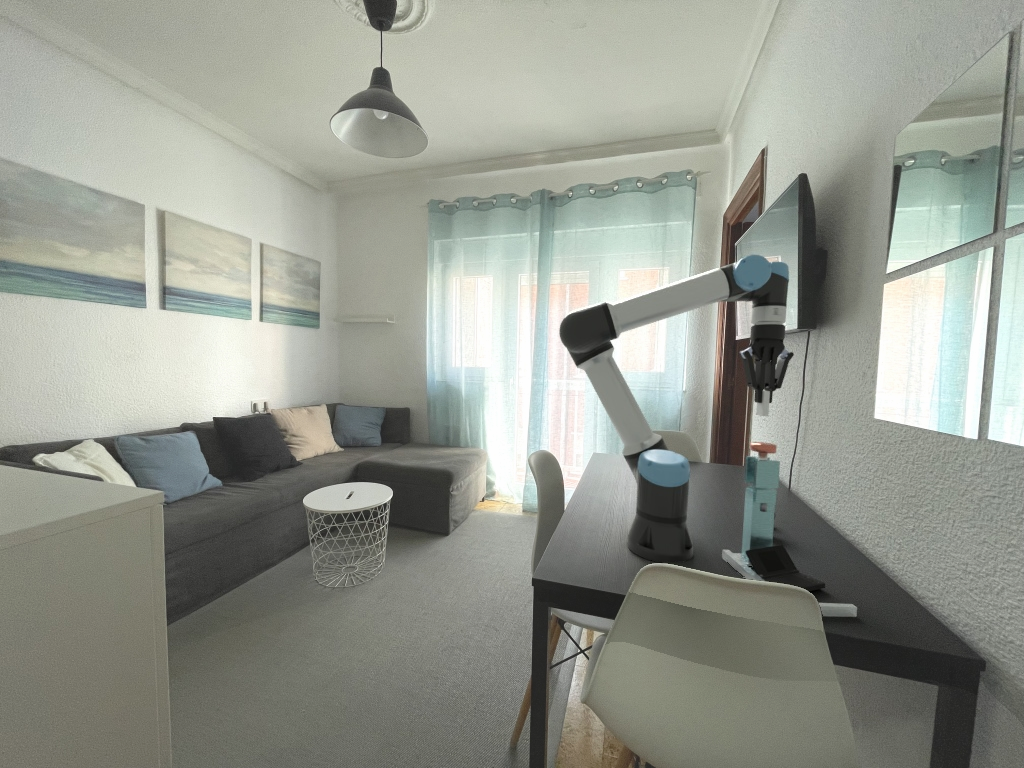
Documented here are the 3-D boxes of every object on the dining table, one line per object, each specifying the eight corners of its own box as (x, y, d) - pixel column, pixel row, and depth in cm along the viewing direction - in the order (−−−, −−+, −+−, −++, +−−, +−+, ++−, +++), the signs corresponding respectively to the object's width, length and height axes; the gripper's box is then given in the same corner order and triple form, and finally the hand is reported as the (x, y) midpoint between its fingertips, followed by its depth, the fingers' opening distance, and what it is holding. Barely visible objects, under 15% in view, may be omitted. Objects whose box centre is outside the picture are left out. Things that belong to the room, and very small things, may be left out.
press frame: (783, 615, 72) (792, 483, 71) (719, 555, 94) (725, 455, 93) (856, 618, 72) (866, 486, 71) (775, 557, 94) (781, 457, 93)
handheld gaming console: (780, 605, 77) (788, 593, 76) (738, 561, 87) (744, 549, 85) (819, 597, 81) (827, 584, 80) (775, 555, 90) (782, 544, 89)
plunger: (756, 479, 88) (759, 445, 88) (744, 473, 93) (746, 441, 93) (779, 480, 88) (781, 446, 88) (765, 474, 93) (767, 442, 93)
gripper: (751, 322, 99) (745, 416, 101) (803, 323, 99) (797, 418, 100) (734, 325, 107) (729, 413, 108) (783, 326, 107) (777, 414, 108)
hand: (762, 415), depth 104 cm, fingers closed
